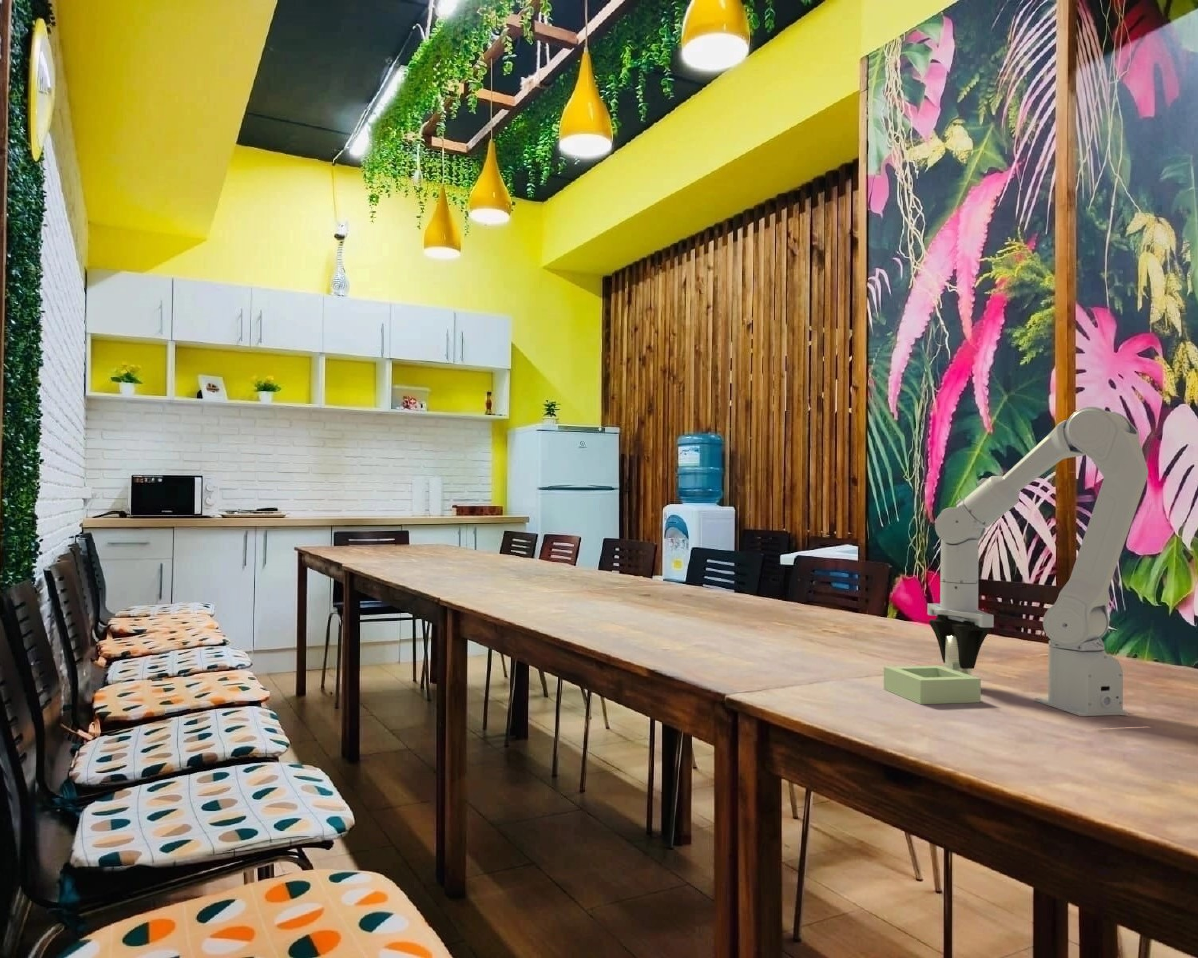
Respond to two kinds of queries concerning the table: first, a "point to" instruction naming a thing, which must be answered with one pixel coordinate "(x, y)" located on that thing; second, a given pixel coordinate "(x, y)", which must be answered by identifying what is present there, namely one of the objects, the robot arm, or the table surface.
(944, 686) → the green tray
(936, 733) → the table surface
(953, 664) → the peg
